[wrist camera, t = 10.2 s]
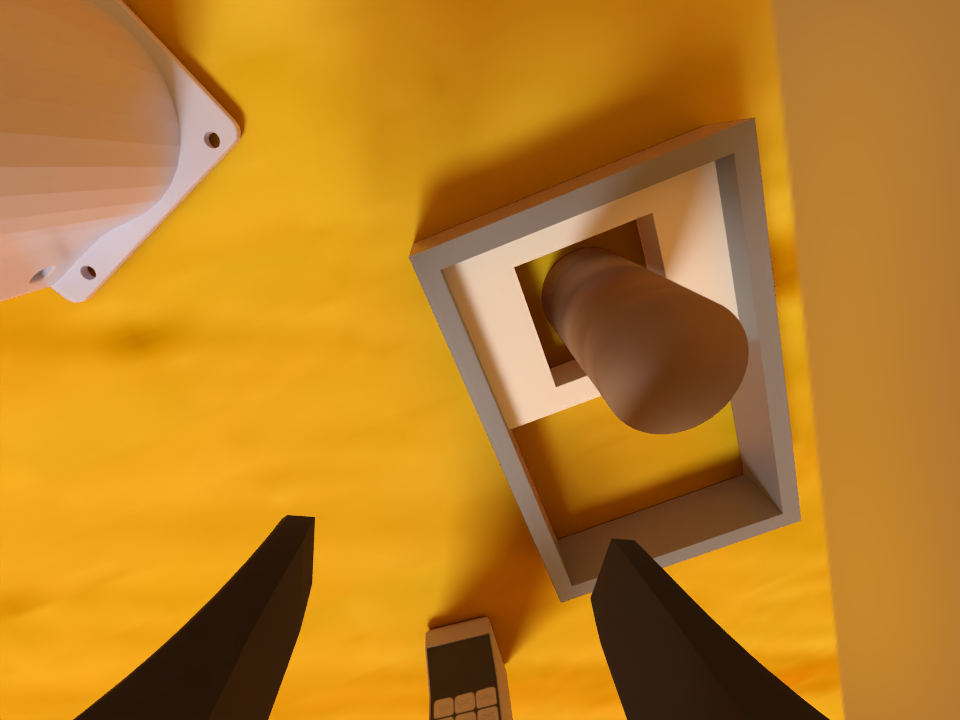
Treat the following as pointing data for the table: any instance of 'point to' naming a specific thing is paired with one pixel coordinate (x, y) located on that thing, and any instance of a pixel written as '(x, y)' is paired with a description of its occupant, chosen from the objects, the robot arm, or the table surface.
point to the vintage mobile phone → (466, 673)
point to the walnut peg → (645, 340)
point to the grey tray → (542, 391)
